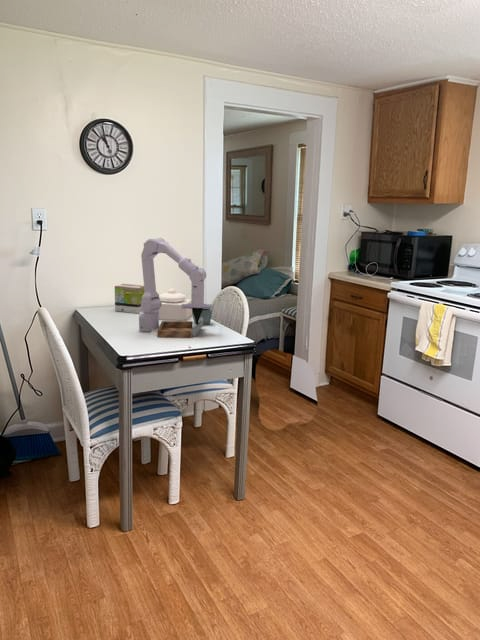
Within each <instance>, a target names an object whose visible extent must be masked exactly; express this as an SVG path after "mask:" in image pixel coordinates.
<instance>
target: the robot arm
mask: <svg viewBox="0 0 480 640" xmlns="http://www.w3.org/2000/svg"><path fill="white" fill-rule="evenodd" d="M169 243H170V242H168V241H166V240H165V238H162V237H159V238H148V239H147V240H146V241H145V242H144V243H143V249H142V251H141V256H140V257H141V258H140V259H141V266H142V267H141V268H142V277H143V286H144V291H145V293H144V294H143V296H142V302H141V309H142V310H143V312H140V313H138V331H139V332H152V331H153V329H157V328H159V326H160V320H159V308H160V307H161V304H162V303H161V300H160V298H159V296H160V294H159V292H158V291H157V286H156V275H155V274H156V273H155V264H154V263H155V261H154V258H155V257H156V256H157V255H158V254H166V255H167V256H168V257H169V258H171V259H172V260H173V261H174V262H176V263H177V264H178V268H179V269H180V270H181V271H182V272H183V273H185V274H186V275H187V276H188V277H189V280H190V281H191V291H190V292H191V298H190V299H191V304H182V309H184V308H187V309H192V312H193V314H194V317H195V320H196V324H198V321H199V318H200V315H201V313H202V311H203V309H211V310H214V304H210V303H205V302H204V301H205V300H204V299H205V279H207V272H206V270H205V269H204V268H201V267H199V265H196V264H195V263H194V262H192V259H191V258H188V257H182V255H180V254H179V252H178V251H177V250H175V248H173V247H172V246H171V245H170V244H169ZM200 307H202V308H200Z"/></svg>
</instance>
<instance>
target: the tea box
mask: <svg viewBox="0 0 480 640" xmlns="http://www.w3.org/2000/svg"><path fill="white" fill-rule="evenodd" d="M144 293H145V291H144V285H141V284H139V285H138V284H130V283H121V284H118V285H114V310H115V312H122V313H132V314H139V313H140V312H143V310H142V309H141V302H142V296H143V294H144Z"/></svg>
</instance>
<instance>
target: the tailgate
mask: <svg viewBox="0 0 480 640" xmlns="http://www.w3.org/2000/svg"><path fill="white" fill-rule="evenodd" d="M203 326H204V325H203V318H202V317H201V318H200V319H199V321H198V324H195V323H194V324H193V331H192V335H193V336H194V337H195V336H196V335H197V333H198V332H199V331H200V330H201V329H202V328H203Z"/></svg>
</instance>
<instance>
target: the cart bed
mask: <svg viewBox="0 0 480 640" xmlns="http://www.w3.org/2000/svg"><path fill="white" fill-rule="evenodd" d="M193 323H194V320H193V321H187V320H186V321H176V320H161V322H160V323H159V328H158V329H157V331H156V333H157V335H156V336H157V337H156V338H164V339H165V338H167V339H168V338H170V339H171V338H174V339H176V338H177V339H178V338H179V339H184V338H185V339H193V338H195V336H193V335H192V331H193V326H194V324H193Z"/></svg>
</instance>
